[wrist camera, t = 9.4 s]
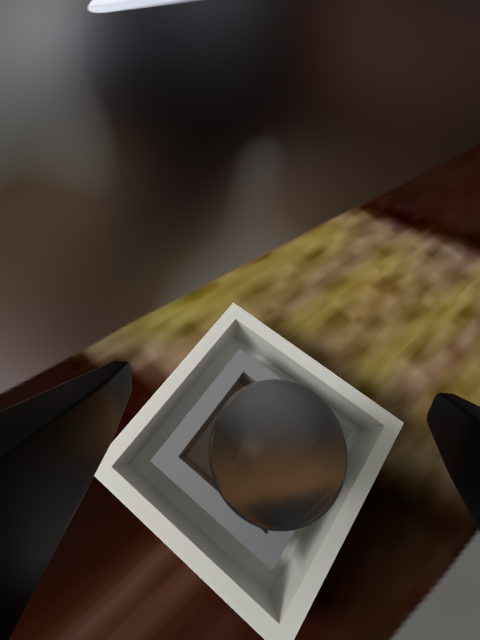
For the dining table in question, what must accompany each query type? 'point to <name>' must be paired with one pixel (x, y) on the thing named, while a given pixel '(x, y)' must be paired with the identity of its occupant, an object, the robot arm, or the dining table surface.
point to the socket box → (200, 490)
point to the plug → (277, 455)
